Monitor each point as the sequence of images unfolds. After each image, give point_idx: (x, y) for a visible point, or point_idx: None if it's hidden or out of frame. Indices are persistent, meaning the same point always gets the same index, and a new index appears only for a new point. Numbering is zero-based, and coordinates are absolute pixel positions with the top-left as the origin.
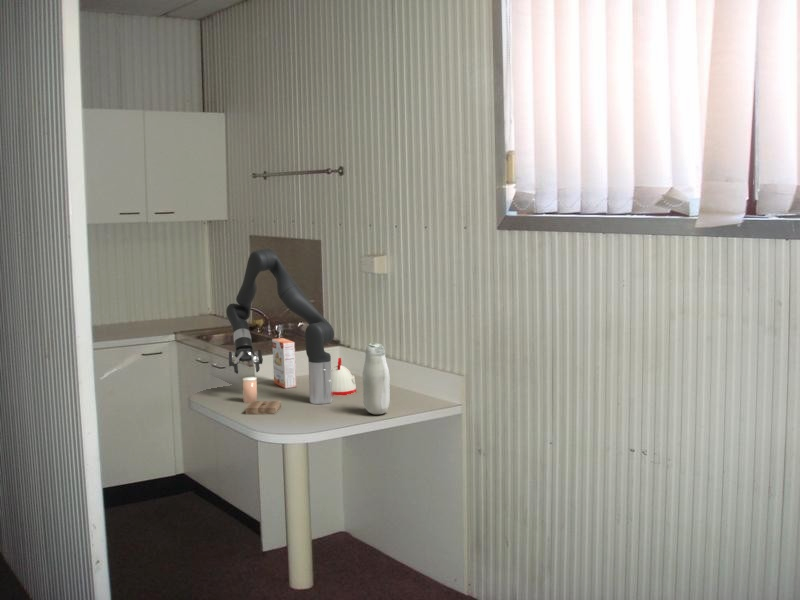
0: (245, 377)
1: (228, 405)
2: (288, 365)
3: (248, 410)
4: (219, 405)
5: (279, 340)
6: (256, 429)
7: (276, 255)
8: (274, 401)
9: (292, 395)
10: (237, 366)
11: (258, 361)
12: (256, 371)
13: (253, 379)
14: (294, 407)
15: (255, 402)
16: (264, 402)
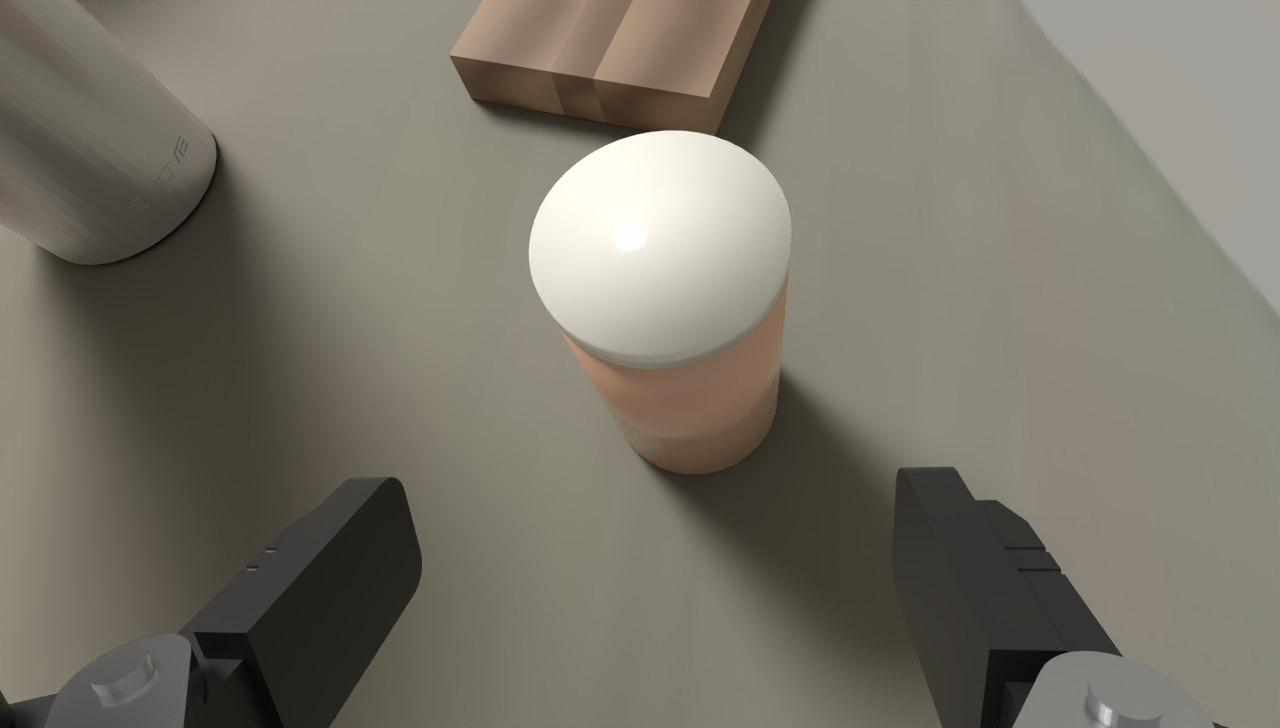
0: (725, 304)
1: (959, 277)
2: None
3: None
4: (1075, 306)
5: None
6: None
7: None
8: (505, 52)
9: (189, 540)
10: (951, 558)
11: (106, 663)
12: (412, 548)
13: (606, 154)
14: (383, 71)
15: (680, 49)
16: (599, 35)
